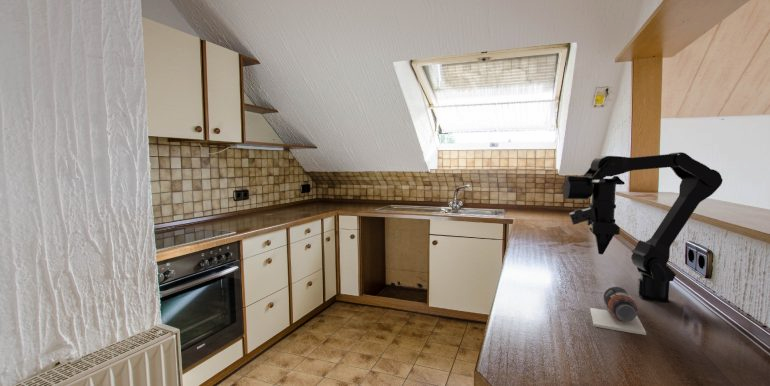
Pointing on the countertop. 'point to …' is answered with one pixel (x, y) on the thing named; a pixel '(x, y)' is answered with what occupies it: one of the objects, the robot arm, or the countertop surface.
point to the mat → (615, 322)
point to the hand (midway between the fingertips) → (600, 254)
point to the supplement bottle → (620, 304)
